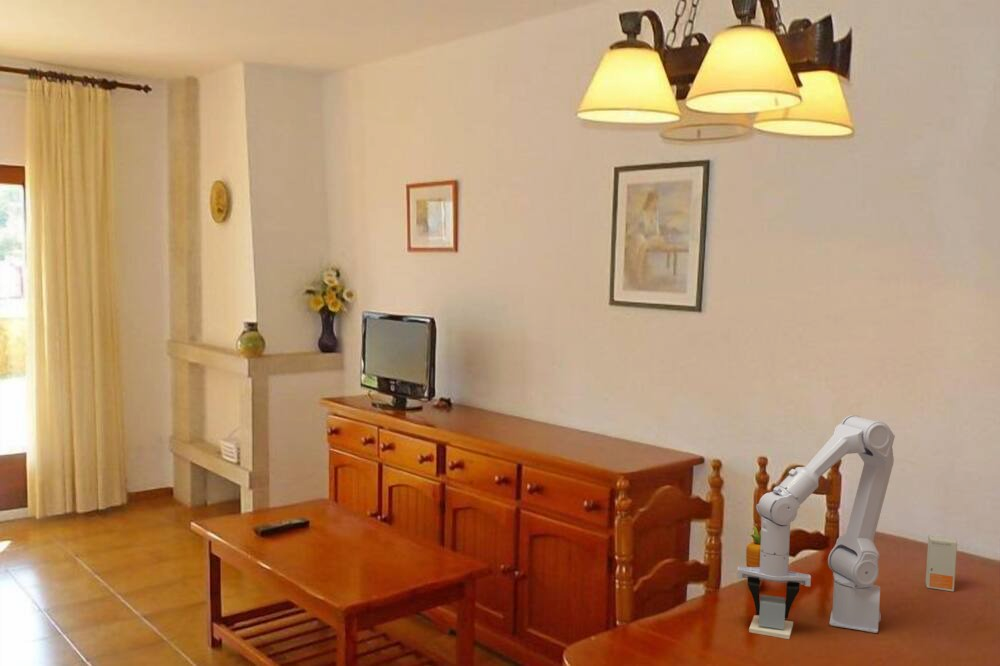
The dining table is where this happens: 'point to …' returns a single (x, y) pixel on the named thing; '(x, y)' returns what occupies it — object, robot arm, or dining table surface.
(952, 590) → the skincare box
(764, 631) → the coaster
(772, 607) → the cube
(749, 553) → the carrot
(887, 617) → the dining table surface
